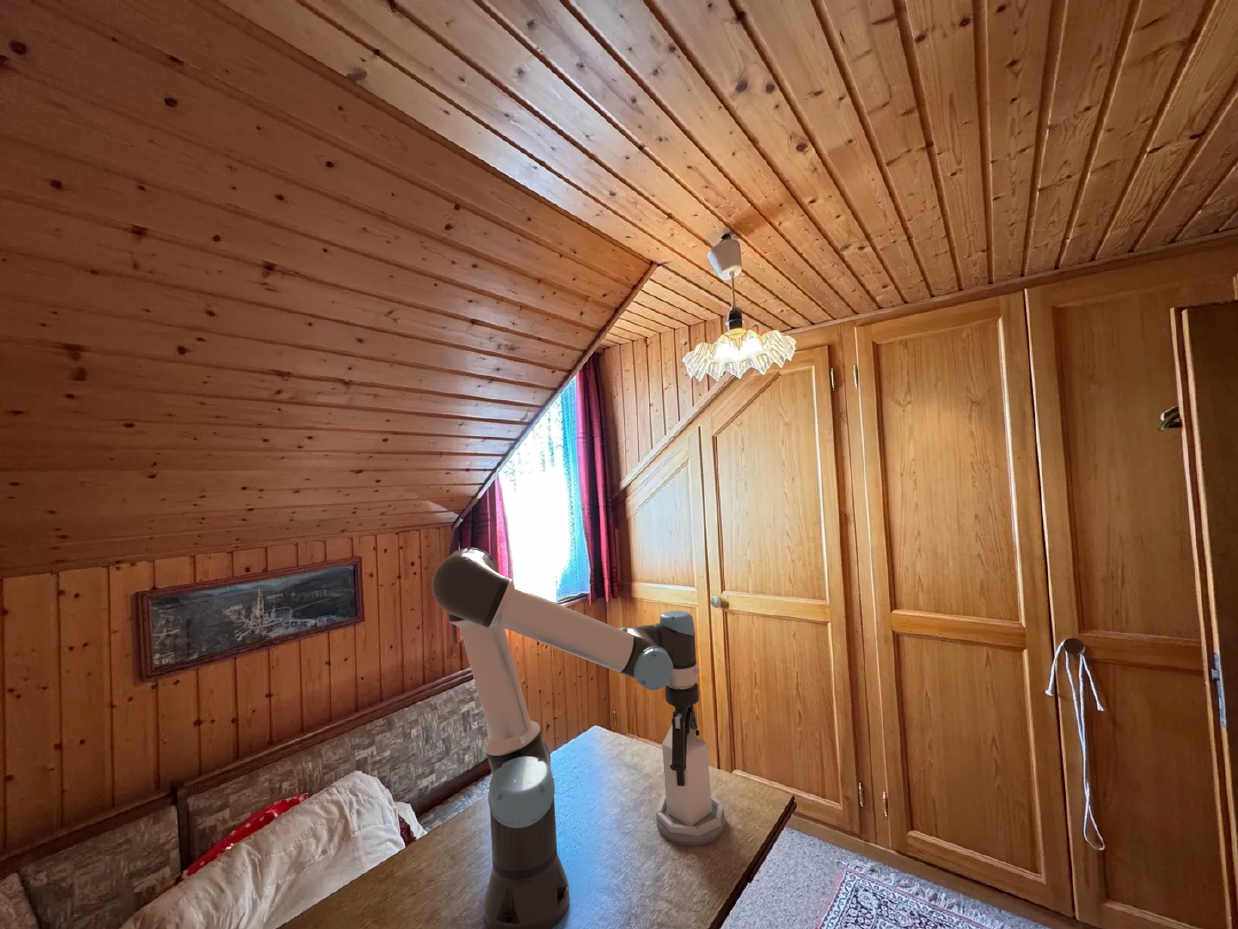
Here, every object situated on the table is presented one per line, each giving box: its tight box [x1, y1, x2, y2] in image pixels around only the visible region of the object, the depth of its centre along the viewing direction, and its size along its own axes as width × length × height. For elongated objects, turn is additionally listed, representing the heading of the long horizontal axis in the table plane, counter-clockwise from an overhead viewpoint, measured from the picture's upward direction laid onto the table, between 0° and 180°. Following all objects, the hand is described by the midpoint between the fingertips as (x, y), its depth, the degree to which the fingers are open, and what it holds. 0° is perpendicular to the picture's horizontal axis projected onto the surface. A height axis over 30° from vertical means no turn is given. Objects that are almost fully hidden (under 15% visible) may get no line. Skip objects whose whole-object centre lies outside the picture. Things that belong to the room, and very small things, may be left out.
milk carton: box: [661, 725, 712, 826], centre depth 113 cm, size 7×7×19 cm
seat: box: [655, 794, 726, 847], centre depth 113 cm, size 15×15×3 cm
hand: (687, 781), depth 113 cm, fingers open, 12 cm apart
